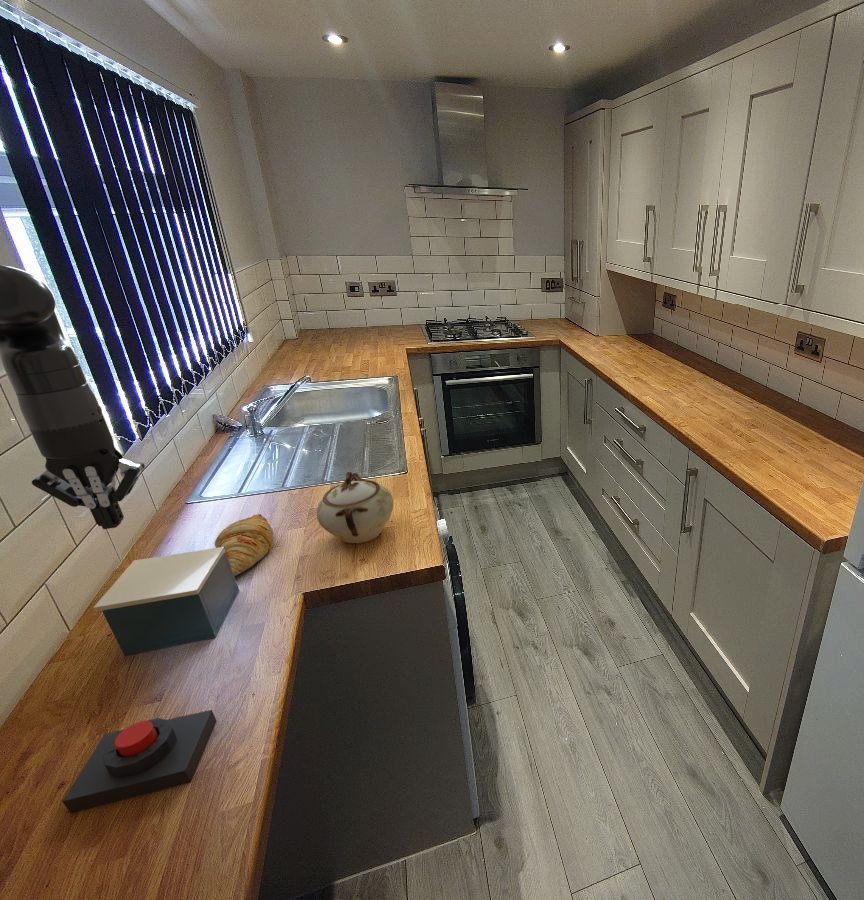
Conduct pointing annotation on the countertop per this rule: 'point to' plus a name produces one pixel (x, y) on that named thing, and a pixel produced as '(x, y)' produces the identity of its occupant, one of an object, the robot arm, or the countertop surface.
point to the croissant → (246, 542)
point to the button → (136, 738)
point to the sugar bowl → (355, 509)
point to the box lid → (161, 578)
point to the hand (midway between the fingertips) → (113, 525)
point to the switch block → (142, 763)
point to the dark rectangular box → (176, 615)
